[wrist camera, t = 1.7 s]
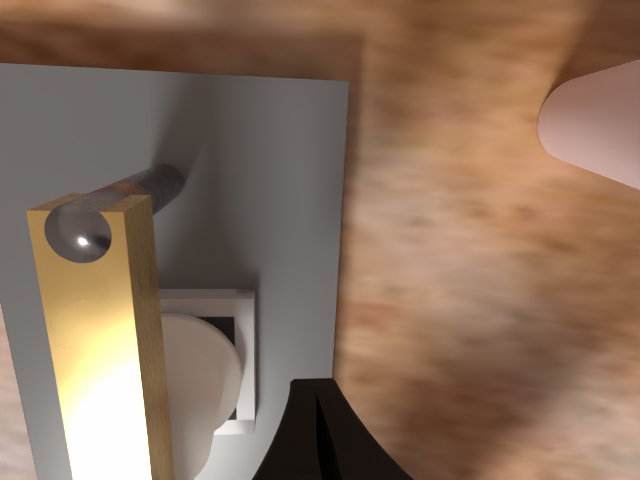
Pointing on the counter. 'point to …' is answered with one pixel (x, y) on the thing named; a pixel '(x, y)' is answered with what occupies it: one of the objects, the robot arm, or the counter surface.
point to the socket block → (186, 224)
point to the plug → (197, 388)
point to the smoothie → (596, 123)
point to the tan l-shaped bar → (108, 324)
